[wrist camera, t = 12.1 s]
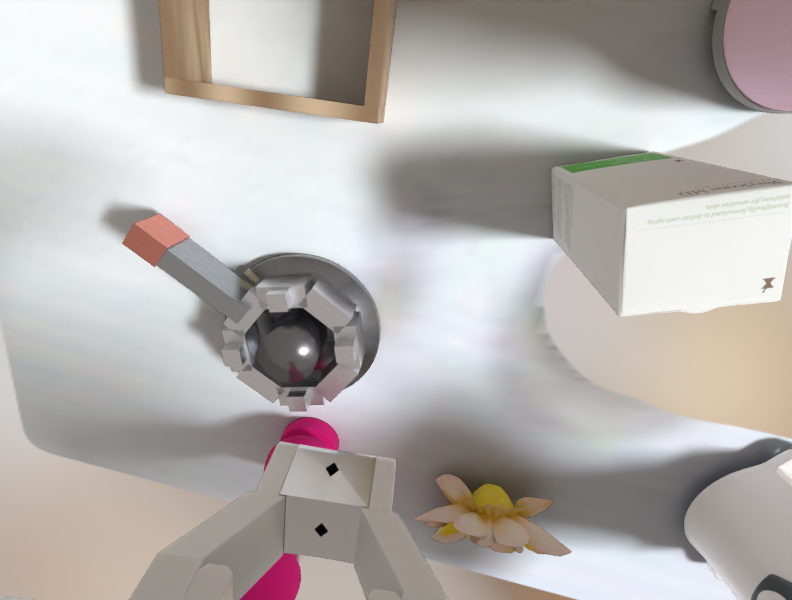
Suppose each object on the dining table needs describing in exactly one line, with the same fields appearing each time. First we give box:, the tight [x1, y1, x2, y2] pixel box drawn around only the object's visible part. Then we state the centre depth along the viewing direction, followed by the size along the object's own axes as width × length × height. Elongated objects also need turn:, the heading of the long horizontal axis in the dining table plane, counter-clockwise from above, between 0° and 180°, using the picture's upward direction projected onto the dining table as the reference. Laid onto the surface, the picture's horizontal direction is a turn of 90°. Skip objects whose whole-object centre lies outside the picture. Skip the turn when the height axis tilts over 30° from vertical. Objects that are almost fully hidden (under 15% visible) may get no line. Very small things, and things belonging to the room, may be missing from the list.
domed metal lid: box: [225, 253, 381, 390], centre depth 40 cm, size 15×15×6 cm
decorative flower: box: [414, 474, 572, 556], centre depth 45 cm, size 15×11×10 cm
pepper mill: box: [240, 418, 339, 600], centre depth 39 cm, size 7×7×20 cm
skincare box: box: [551, 152, 792, 317], centre depth 29 cm, size 8×7×16 cm
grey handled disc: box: [122, 214, 365, 412], centre depth 38 cm, size 22×12×4 cm, turn 49°
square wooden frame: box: [159, 0, 397, 124], centre depth 30 cm, size 15×13×5 cm
